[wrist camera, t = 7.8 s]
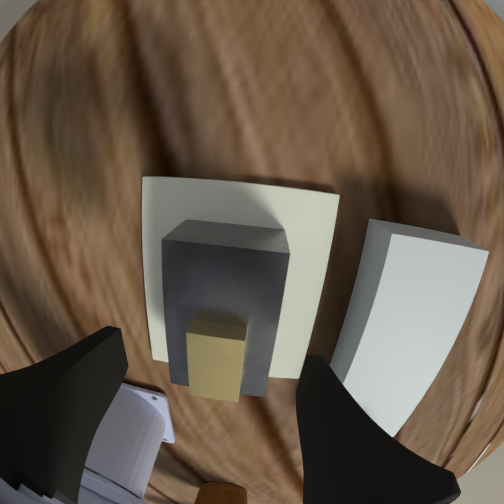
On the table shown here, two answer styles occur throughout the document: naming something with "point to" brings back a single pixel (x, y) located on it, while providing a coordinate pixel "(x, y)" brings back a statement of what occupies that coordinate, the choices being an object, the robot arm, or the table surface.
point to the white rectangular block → (404, 316)
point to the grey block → (222, 305)
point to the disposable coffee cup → (221, 494)
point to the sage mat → (251, 214)
